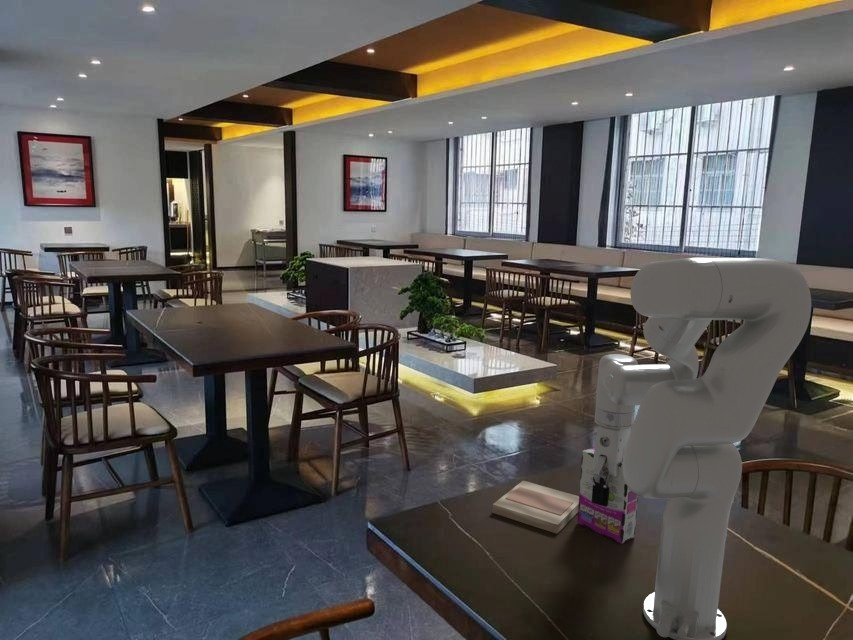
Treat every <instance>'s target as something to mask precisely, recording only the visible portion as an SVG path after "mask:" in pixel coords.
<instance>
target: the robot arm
mask: <svg viewBox="0 0 853 640" xmlns="http://www.w3.org/2000/svg"><path fill="white" fill-rule="evenodd" d="M629 293H630V301H631V304H632V306H633V309H634V310H635V311H636V312H637V313H638V314H639V315H641V316H644V317H647V320H646V321H645V323H644V325H643V330H642V331H643V337H644V339H645V342H646V343H647V345H648V346H649V347H651V349H652V350H653V351H655V352H656V353H657V354H659V355H661V356H664V357H665V358H667V359H669V360H668V361H667V362H666V363H652V364H651V363H650V364H646V363H645V364H643V363H642V364H639V363H638V360H637V359H636V358H634V357H633V356H630V355H626V354H621V353H609V354H605V355H603V356H602V357H600V359H599V364H598V373H597V374H598V375H597V386H596V399H595V412H594V413H595V414H594V423H595V424H596V425H597V429H596V437H595V442H594V446H595V450H594V460H593V469H594V471H593V475H594V477H593V489H592V503H595V504H598V505H602V506H605V507H606V506H607V505H608V500H609V488H610V487H608V484H609V481H610V477H611V476H613V477H615V478H616V477H618V476H619V465H620V463H621V462H622V461H623V476H624V479H625V482H626V484H627V486H628V488H629V489H630V490H631V491H632V492H633V493H635V494H636V495H638V497H640V498H643V499H650V500H652V499H654V500H655V499H656V500H657V499H668V500H667V502H665V503H666V504H665V506H664V508H663V511H662V516H661V525H660V532H659V543H658V545H659V546H658V554H657V565H656V574H655V575H656V576H655V585H654V592H652V593H650V594H648V596H646V597H645V599H644V601H643V604H642V605H643V606H642V612H643V615H644V618H645V619H646V621H647V622H648V623H649V624H650V625H651V626H652V627H653V628H654V629H655V630H656V633H657V634H658V635H659V636H660V637H662V638H669V639H672V640H722V639H724V637H725V636H726V633H727V629H728V628H727V627H728V623H727V619H726V617H725V616H724V614H723V613H722V611H720V609H719V601H720V594H721V592H720V591H721V583H722V576H723V567H724V566H723V565H724V557H725V551H726V549H725V548H726V540H727V534H728V527H729V520H730V514H731V509H732V505H733V502H734V498H735V496H736V494H737V490H738V488H739V485H740V482H741V478H742V472H743V463H742V457H741V454H740V452H739V450H738V448H737V447H736V445H735V443H739V442H741V441H743V440H745V439H746V438H747V437H748V436H749V434H750V433H751V432H752V430H753V428H754V427H755V425H756V423H757V421H758V418H759V417H760V414H761V412H762V410H763V408H764V406H765V404H766V402H767V400H768V398H769V396H770V394H771V392H772V389H774V388H773V387H774V386H775V383H776V381H777V379H778V377H779V376H780V374H781V371H782V370H783V369H784V367H785V366H786V364H787V362H788V361H789V359H790V358H791V356H793V353H794V352H795V350H797V347H798V346H799V345H800V343H801V341H802V339H803V338H804V335H805V333H806V331H807V329H808V326H809V323H810V319H811V314H812V313H811V312H812V296H811V291H810V287H809V284H808V281H807V279H806V277H805V276H804V274H803V273H802V272H801V271H800V270H799V269H798V268H796V267H795V266H793V265H792V264H789V262H785V261H781V260H777V259H773V258H772V259H771V258H762V257H761V258H760V257H758V258H757V257H687V258H678V259H676V258H675V259H670V260H668V259H667V260H660V261H651V262H648V263H646V264H644V265H643V266H641V268H639V269H638V271H637V272H636V274H635V275H634V277H633V279H632V282H631V286H630V291H629ZM712 320H713V321H729V320H730V321H734V320H735V321H736V320H739V321H740V320H743V323H742V324H741V325H740V326H739V327H738V328H736V329H735V330H734V331H732V332H731V333H730V334H729V335H727V337H726V338H725V339H723V340H722V342H721V343H720V344H719V345H718V346H717V347H716V349H715V351H714V352H713V354H712V356H711V359H710V362H709V365H708V366H707V368H706V370H705V372H704V373H703V374H702V375H701V376H699V377H698V373H699V365H700V363H699V355H698V353H699V352H698V351H697V348H696V346H695V345H696V343H697V342H698V341H699V339H700V338H701V336H702V335H703V334H704V333H705V331H706V330H707V328H708V326H709V325H710V324H711V322H712ZM697 377H698V378H697ZM636 406H639V407H638V410H637V412H635V411H636V410H635V409H636ZM635 413H636V415H635ZM603 469H605V470H608V472H606V471H603ZM602 475H604V476H606V479H605V481H604V478H603V477H602Z"/></svg>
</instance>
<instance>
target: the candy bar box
mask: <svg viewBox="0 0 853 640" xmlns="http://www.w3.org/2000/svg"><path fill="white" fill-rule="evenodd" d="M594 450H595V445H594V446H592V447H588V448H587V449H584V450H582V451H581V465H580V466H581V467H580V479H579V481H580V482H579V491H578V493H579V495H578V496H579V506H578V513H577V521H576V522H577V523H576V524H579V525H580V526H583V527H585V528H587V529H589V530H590V531H594V532H595V533H597V534H599V535H601V536H604V537H605V538H608V539H611V540H612V541H615V542H617V543H619V544H621V545H622V544H623V545H624V543H627V542H629V541H630V540H633V539H634V538H635V537H636V525H637V516H638V515H637V514H638V503H639V496H638V495H636V494H635V493H633V492H632V491H631V490H630V489H629V488H628V486H627V484H626V482H625V479H624V476H623V461H622V462H621V463H620V465H619V476H618V477H616V478H615V477H613V476H611V477H610V481H609V484H608V487H610V488H609V500H608V505H607V506H606V507H605V506H602V505H598V504H595V503H592V489H593V477H594V475H593V471H594V469H593V460H594ZM603 471H606V472H608V470H605V469H603ZM602 477H603V478H604V481H605V479H606V476H604V475H602Z"/></svg>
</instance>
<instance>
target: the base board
mask: <svg viewBox="0 0 853 640" xmlns="http://www.w3.org/2000/svg"><path fill="white" fill-rule="evenodd" d="M578 506H579V495H575V494H572V493H567V492H565V491H561V490H558V489H554V488H551V487H548V486H544V485H540V484H536V483H534V482H530V481H527V480H526V481H525V480H522V481H521V482H519V483H518V484H517V485H515V486H514V487H513V488H511V489H510V490H509V491H508V492H506V493H505V494H504V495H503V496H501V497H500V498H499V499H498V500H496V501H495V502H494V503H492V513H493V514H496V515H498V516H501V517H505V518H507V519H509V520H510V519H511V520H514V521H517V522H520V523H523V524H526V525H529V526H532V527H535V528H538V529H541V530H544V531H548V532H550V533H553V534H556V535H558V534H559V533H560V532H561V531H562V529H564V527H565V526H566V525H568V523H569V522H570V521H571V520H572V519H573V518H574V517H575V516H576V514H577V515H578Z"/></svg>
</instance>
